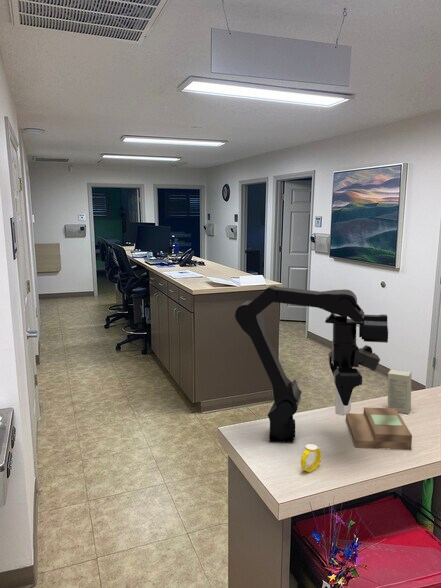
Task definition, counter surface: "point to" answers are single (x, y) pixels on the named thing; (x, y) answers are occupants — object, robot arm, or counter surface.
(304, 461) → the watch
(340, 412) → the eye dropper bottle
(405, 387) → the skincare box
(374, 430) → the step riser
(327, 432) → the counter surface
